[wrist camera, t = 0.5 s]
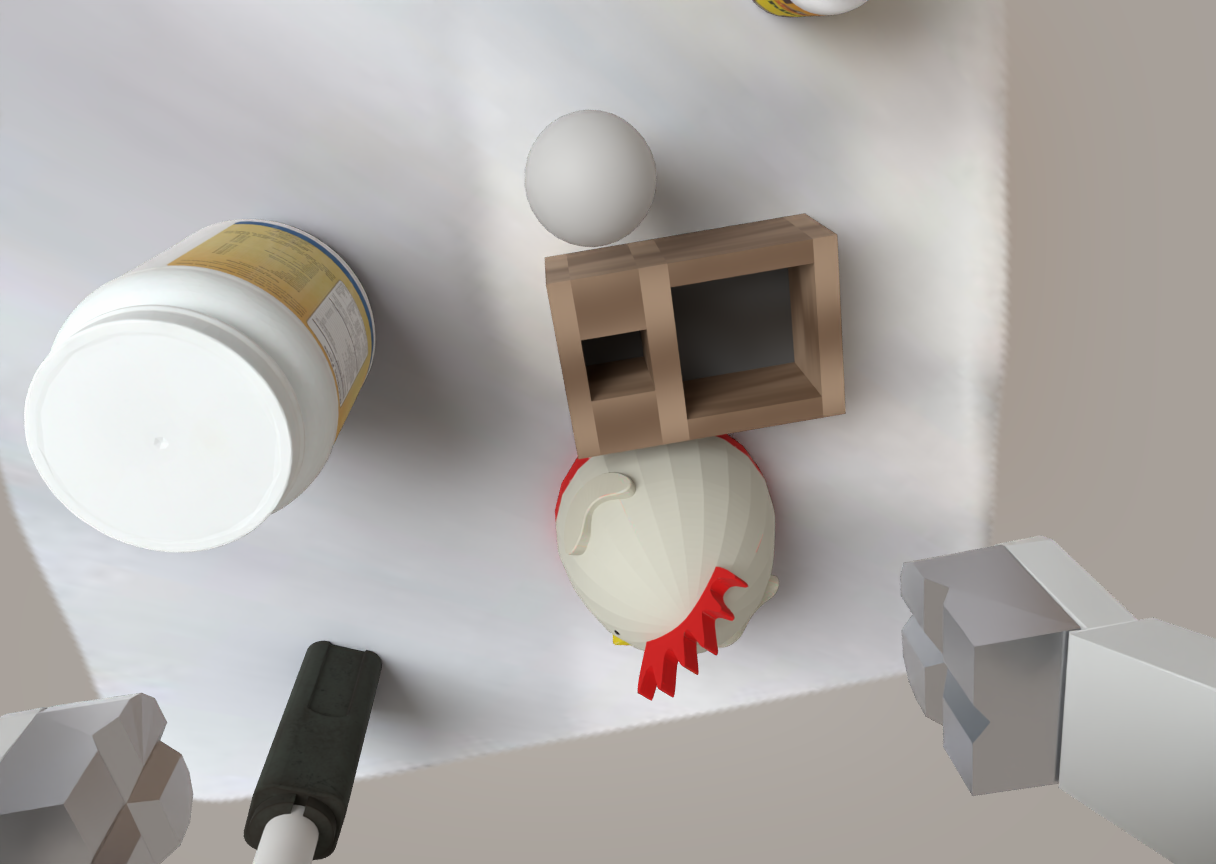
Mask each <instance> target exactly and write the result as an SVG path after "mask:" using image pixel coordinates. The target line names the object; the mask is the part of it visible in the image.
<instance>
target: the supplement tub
mask: <svg viewBox="0 0 1216 864" xmlns="http://www.w3.org/2000/svg"><path fill="white" fill-rule="evenodd" d="M374 352H375V324H374V319H373V314H372V310H371V306H370V303H369V300H368V298H367V295H366V293H365V291H364V288H363V286H362V284H361V283H360V281H359V280H358V278H357V277H356V275H355V274H354V272H353V271H352V270H351V268H350V267H349V266H348V265H347V264H346V262H345V261H344V260H343V259H342V258H341V257H340V256H339V255H338V254H337V253H336V252H335V251H333V250H332V249H331V248H330V247H328V246H327V245H326V244H324V243H323V242H322V241H320V240H318V239H317V238H315V237H314V236H312V235H310V234H308V233H306V232H304V231H302V230H300V229H297V228H294V227H292V226H289V225H286V224H282V223H278V222H274V221H267V220H259V219H239V220H230V221H224V222H220V223H216V224H213V225H210V226H208V227H205V228H203V229H201V230H198V231H196V232H195V233H193V234H191V235H190V236H188V237H187V238H185V239H184V240H183V241H181V242H179V243H177V244H176V245H174V246H172V247H171V248H169V249H167V250H165V251H164V252H162V253H160V254H158V255H157V256H155V257H153V258H151V259H150V260H148V261H146V262H144V263H143V264H141V265H139V266H138V267H136V268H134V269H132V270H131V271H129V272H127V273H126V274H124V275H122V276H120V277H118V278H116V279H114V280H112V281H110V282H108V283H106V284H104V285H103V286H101V287H99V288H98V289H97V290H95V291H94V292H92V293H91V294H90V295H89V296H87V297H86V298H85V299H84V300H83V301H82V302H81V303H80V304H79V305H78V306H77V307H76V308H75V309H74V311H73V312H72V313H71V314H70V316H69V317H68V318H67V320H66V321H65V322H64V324H63V326H62V327H61V329H60V331H59V333H58V334H57V336H56V338H55V341H54V343H53V346H52V349H51V353H50V354H49V355H48V356H47V357H46V358H45V360H44V361H43V362H42V364H41V365H40V367H39V368H38V370H37V371H36V373H35V375H34V378H33V380H32V382H31V384H30V387H29V390H28V393H27V397H26V402H25V410H24V425H25V435H26V440H27V444H28V448H29V451H30V454H31V456H32V459H33V461H34V463H35V466H36V468H37V470H38V472H39V473H40V475H41V477H42V478H43V480H44V481H45V483H46V484H47V486H48V487H49V488H50V490H51V491H52V492H53V494H54V495H55V496H56V497H57V498H58V499H59V500H60V501H61V502H62V504H64V505H65V506H66V507H67V508H68V509H69V510H70V511H71V512H72V513H73V514H75V515H76V516H77V517H78V518H79V519H81V520H82V521H83V522H85V523H87V524H88V525H90V526H91V527H93V528H94V529H96V530H98V531H100V532H102V533H103V534H105V535H107V536H109V537H112V538H114V539H116V540H119V541H121V542H124V543H127V544H130V545H133V546H136V547H140V548H145V549H150V550H155V551H163V552H195V551H203V550H208V549H212V548H216V547H219V546H223V545H225V544H228V543H230V542H233V541H235V540H237V539H239V538H241V537H243V536H245V535H247V534H248V533H250V532H251V531H253V530H254V529H255V528H257V527H258V526H259V525H260V524H262V523H263V522H264V521H265V520H266V519H267V518H268V517H269V516H270V515H271V514H273V513H275V512H277V511H279V510H280V509H282V508H283V507H285V506H287V505H288V504H289V503H291V502H292V501H293V500H295V499H296V498H297V497H298V496H299V495H300V494H301V493H302V492H303V491H304V490H306V489H307V488H308V486H309V485H310V484H311V483H312V482H313V481H314V479H315V478H316V477H317V476H318V474H319V473H320V471H321V470H322V469H323V467H324V465H325V463H326V462H327V460H328V457H329V455H330V453H331V450H332V448H333V445H334V443H335V441H336V439H337V436H338V434H339V432H340V430H341V428H342V426H343V424H344V422H345V420H346V418H347V416H348V414H349V412H350V410H351V408H352V406H353V404H354V402H355V400H356V397H357V395H358V393H359V391H360V389H361V387H362V385H363V383H364V382H365V380H366V378H367V376H368V374H369V371H370V368H371V365H372V362H373V358H374Z"/></svg>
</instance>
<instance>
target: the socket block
mask: <svg viewBox="0 0 1216 864" xmlns="http://www.w3.org/2000/svg"><path fill="white" fill-rule="evenodd" d="M545 274H546V288H547V293H548V298H549V304H550V309H551V314H552V320H553V325H554V331H555V336H556V341H557V347H558V352H559V357H560V363H561V368H562V374H563V379H564V384H565V390H566V395H567V400H568V406H569V411H570V416H571V422H572V427H573V433H574V438H575V443H576V449H577V454H578V459H583V458H589V457H595V456H600V455H606V454H612V453H618V452H624V451H630V450H635V449H641V448H647V447H653V446H659V445H665V444H671V443H676V442H682V441H688V440H694V439H700V438H706V437H712V436H717V435H723V434H729V433H735V432H741V431H747V430H753V429H758V428H764V427H770V426H776V425H782V424H788V423H793V422H799V421H805V420H811V419H817V418H823V417H829V416H834V415H840V414H846V412H845V391H844V369H843V348H842V327H841V305H840V284H839V263H838V242H837V234H835V233H834V232H832V231H831V230H829V229H828V228H826V227H825V226H823V225H822V224H820V223H818V222H817V221H815V220H814V219H812V218H811V217H809V216H808V215H806V214H799V215H793V216H787V217H781V218H775V219H769V220H763V221H758V222H752V223H746V224H740V225H734V226H728V227H722V228H716V229H710V230H704V231H699V232H693V233H687V234H681V235H675V236H669V237H663V238H657V239H651V240H646V241H640V242H634V243H628V244H622V245H616V246H610V247H604V248H598V249H593V250H587V251H581V252H575V253H569V254H563V255H557V256H551V257H545Z"/></svg>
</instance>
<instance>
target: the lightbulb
mask: <svg viewBox="0 0 1216 864" xmlns="http://www.w3.org/2000/svg"><path fill="white" fill-rule="evenodd" d="M656 179H657V176H656V167H655V162H654V159H653V156H652V153H651V150H650V148H649V146H648V145H647V143H646V141H645V139H644V138H643V137H642V136H641V135H640V133H639V132H638V131H637V130H636V129H635V128H634V127H633V126H632V125H630V124H629V123H628V122H627V121H625V120H624V119H622V118H620V117H618V116H616V115H614V114H611V113H607V112H604V111H599V110H583V111H576V112H572V113H569V114H567V115H564V116H562V117H560V118H558V119H557V120H555V121H554V122H552V123H551V124H549V125H548V126H547V127H546V128H545V129H544V130H543V131H542V132H541V133H540V135H539V136H538V138H537V139H536V141H535V142H534V143H533V145H532V148H531V150H530V152H529V155H528V158H527V163H526V167H525V189H526V195H527V199H528V201H529V204H530V207H531V209H532V211H533V213H534V214H535V216H536V218H537V219H538V221H539V222H540V223H541V224H542V225H543V226H544V227H545V228H546V229H547V230H548V231H549V232H550V233H552V234H553V235H554V236H556V237H557V238H559V239H561V240H563V241H566V242H568V243H570V244H574V245H579V246H585V247H597V246H604V245H608V244H611V243H614V242H616V241H619V240H620V239H622V238H624V237H625V236H627V235H629V234H630V233H631V232H632V231H633V230H634V229H635V228H637V227H638V226H639V224H640V223H641V222H642V220H643V219H644V218H645V216H646V215H647V213H648V211H649V209H650V207H651V205H652V202H653V198H654V195H655V191H656Z"/></svg>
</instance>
